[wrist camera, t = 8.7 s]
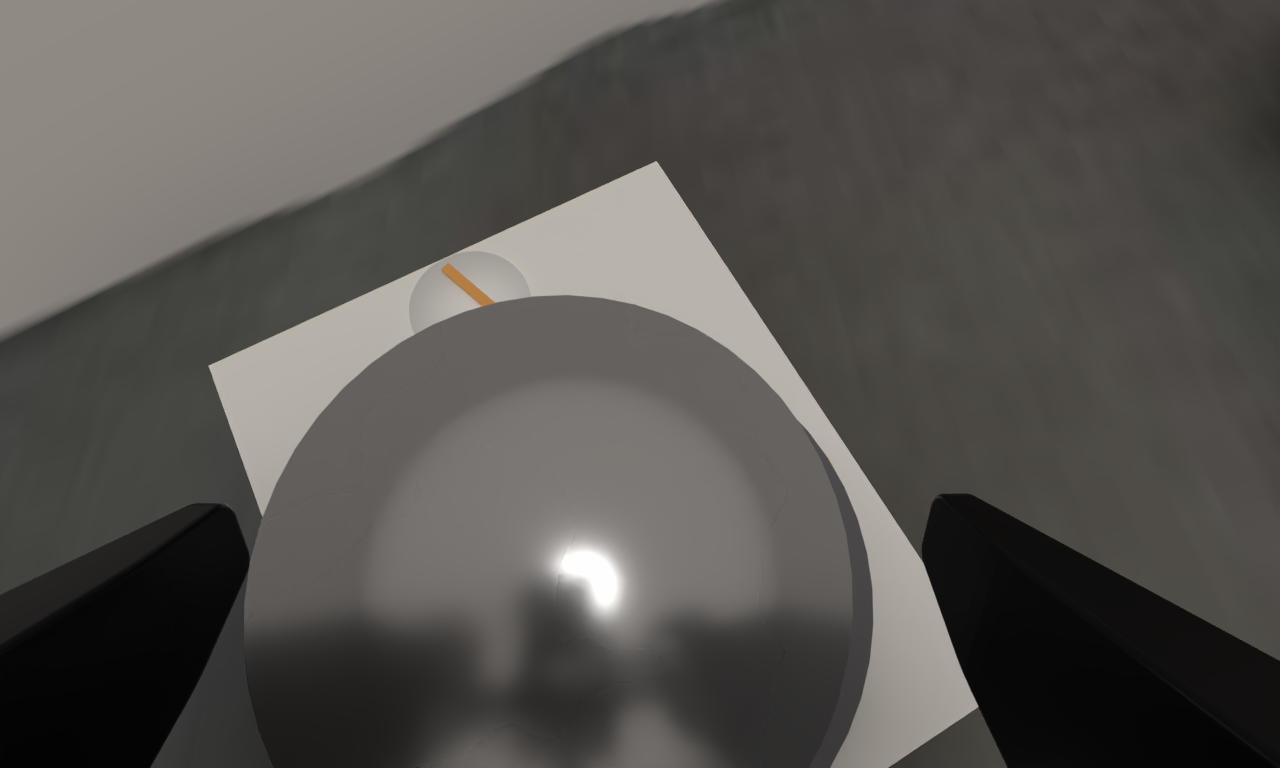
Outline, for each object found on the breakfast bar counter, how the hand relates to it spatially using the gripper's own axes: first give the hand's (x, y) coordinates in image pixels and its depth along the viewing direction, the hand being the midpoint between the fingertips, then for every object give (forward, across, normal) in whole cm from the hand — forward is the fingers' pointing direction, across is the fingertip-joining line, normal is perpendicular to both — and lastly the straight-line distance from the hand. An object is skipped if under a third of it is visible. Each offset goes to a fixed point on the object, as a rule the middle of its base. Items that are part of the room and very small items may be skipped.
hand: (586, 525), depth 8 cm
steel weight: (+5, 0, +6) cm, 8 cm away
